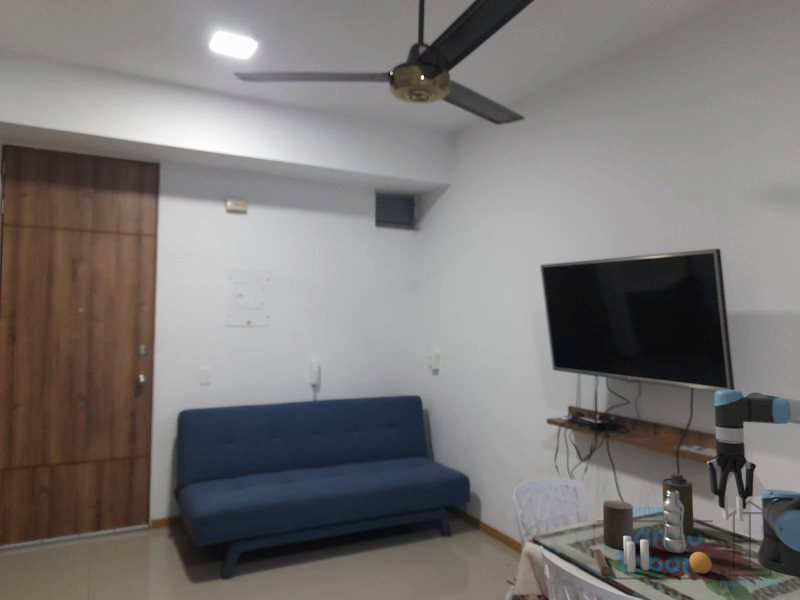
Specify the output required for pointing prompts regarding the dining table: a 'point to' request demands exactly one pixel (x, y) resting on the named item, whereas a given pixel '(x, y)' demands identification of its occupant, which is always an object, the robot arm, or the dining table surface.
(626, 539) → the pin
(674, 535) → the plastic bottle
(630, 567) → the pin
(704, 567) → the ball
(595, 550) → the brown wooden stick
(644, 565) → the front pin
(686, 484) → the canister
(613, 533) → the pillar candle
